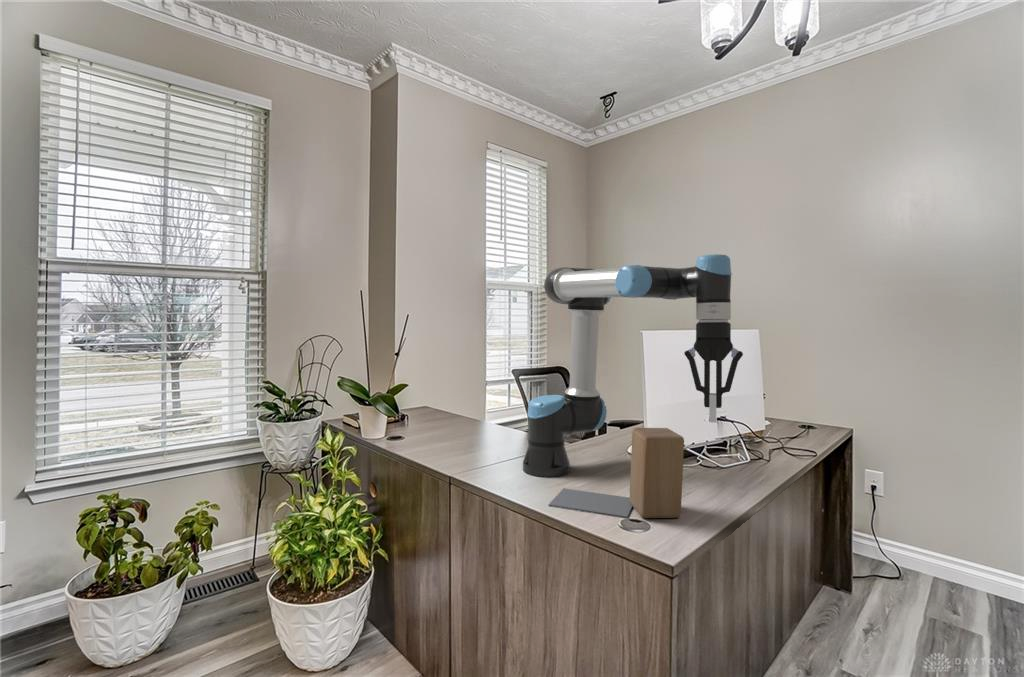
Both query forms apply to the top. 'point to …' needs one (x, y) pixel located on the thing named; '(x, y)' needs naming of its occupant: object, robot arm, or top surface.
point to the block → (656, 472)
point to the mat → (593, 502)
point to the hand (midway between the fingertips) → (712, 421)
